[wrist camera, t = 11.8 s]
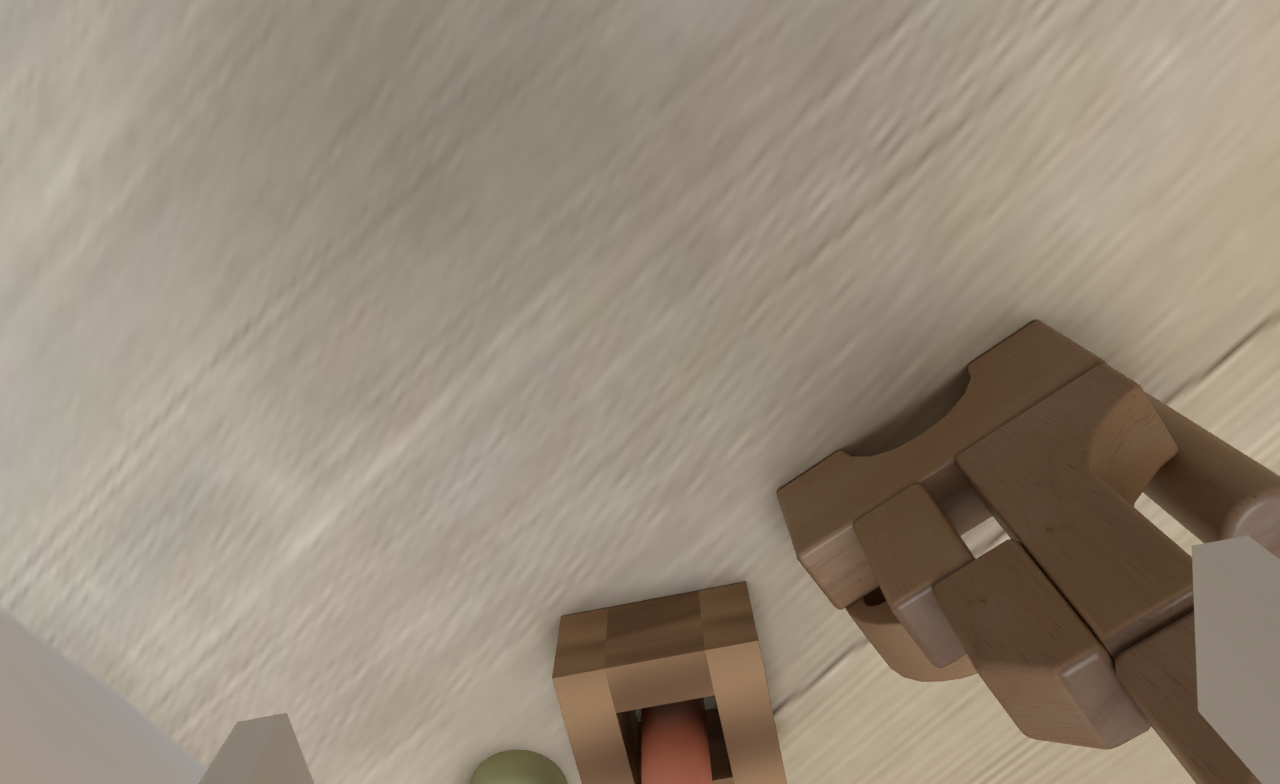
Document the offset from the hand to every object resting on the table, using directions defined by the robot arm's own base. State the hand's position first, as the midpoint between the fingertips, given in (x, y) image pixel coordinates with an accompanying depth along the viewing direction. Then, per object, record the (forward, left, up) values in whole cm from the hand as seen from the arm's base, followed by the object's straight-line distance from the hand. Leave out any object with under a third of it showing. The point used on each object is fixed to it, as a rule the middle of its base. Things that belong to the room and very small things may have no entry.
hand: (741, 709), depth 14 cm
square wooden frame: (+19, -4, -29) cm, 35 cm away
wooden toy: (+10, +11, -29) cm, 33 cm away
